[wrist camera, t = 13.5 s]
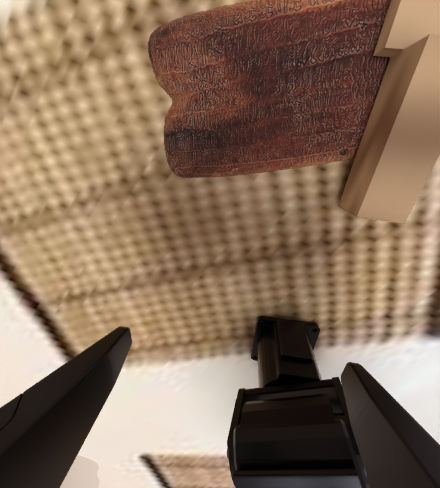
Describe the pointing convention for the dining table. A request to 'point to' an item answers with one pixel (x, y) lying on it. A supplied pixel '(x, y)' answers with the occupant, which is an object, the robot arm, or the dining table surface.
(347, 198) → the tan paddle
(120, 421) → the dining table surface
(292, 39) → the wooden tablet
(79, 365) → the robot arm
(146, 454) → the dining table surface
